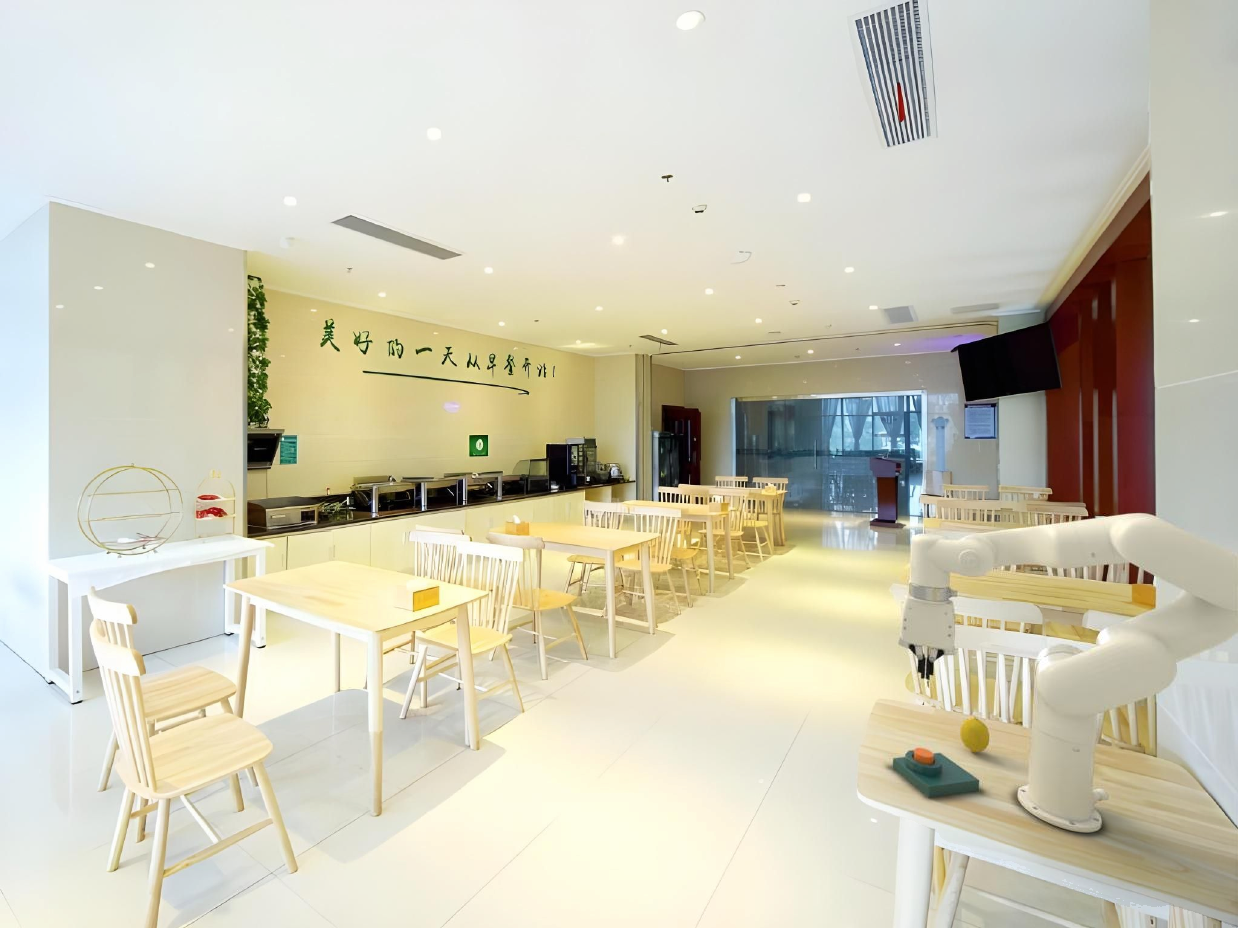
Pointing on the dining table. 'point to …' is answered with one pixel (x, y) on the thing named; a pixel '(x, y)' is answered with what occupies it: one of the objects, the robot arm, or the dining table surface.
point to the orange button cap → (923, 756)
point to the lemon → (974, 735)
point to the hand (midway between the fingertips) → (925, 676)
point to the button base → (935, 775)
